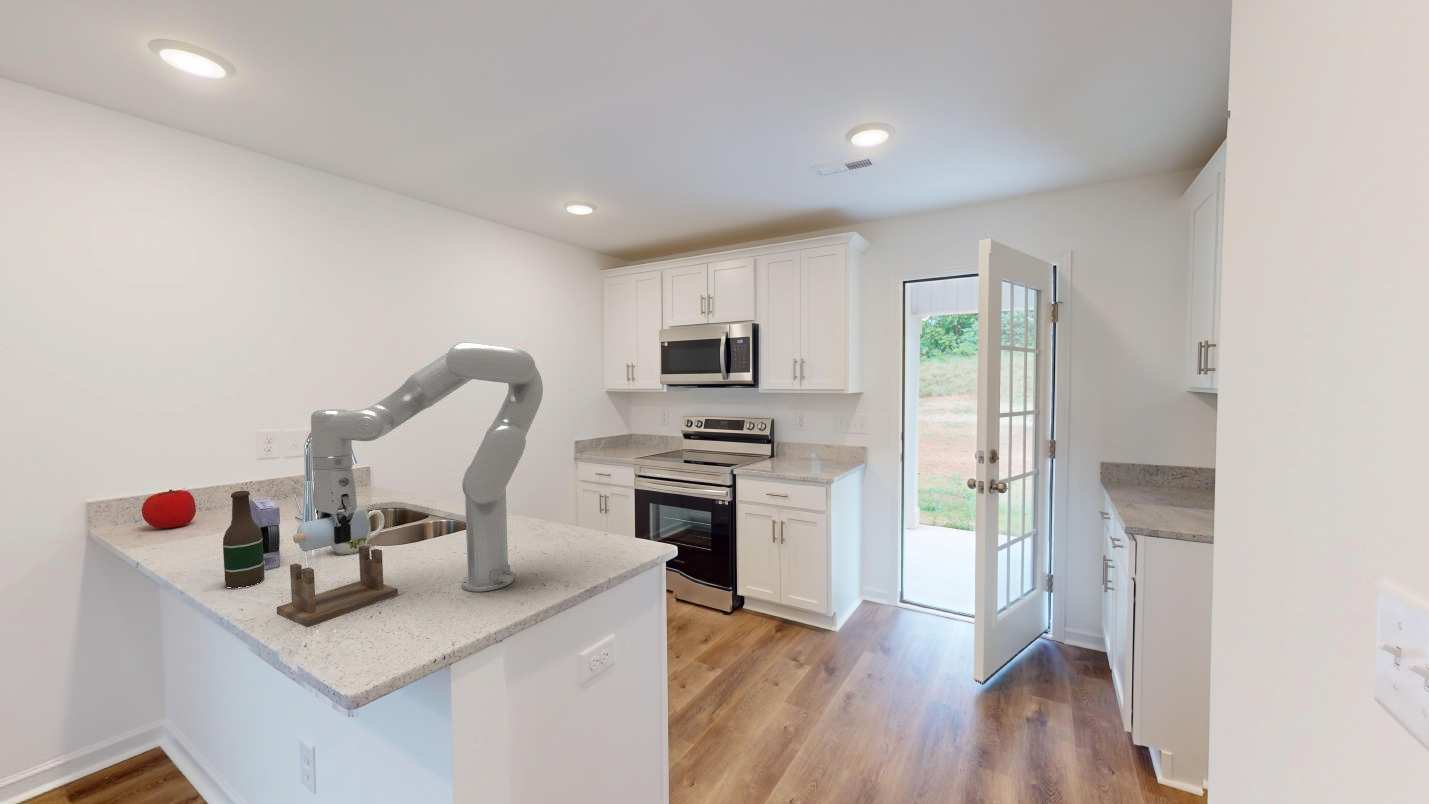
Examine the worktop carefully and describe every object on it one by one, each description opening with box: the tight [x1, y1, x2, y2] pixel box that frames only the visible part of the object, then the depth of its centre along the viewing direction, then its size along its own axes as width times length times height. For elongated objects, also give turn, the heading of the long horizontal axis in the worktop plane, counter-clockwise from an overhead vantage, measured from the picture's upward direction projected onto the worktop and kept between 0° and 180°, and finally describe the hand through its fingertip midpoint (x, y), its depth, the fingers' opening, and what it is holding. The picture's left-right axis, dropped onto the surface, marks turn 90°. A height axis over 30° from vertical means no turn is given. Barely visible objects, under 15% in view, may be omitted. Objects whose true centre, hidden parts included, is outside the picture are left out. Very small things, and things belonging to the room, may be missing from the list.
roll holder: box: [276, 545, 399, 628], centre depth 126 cm, size 14×19×11 cm
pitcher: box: [330, 504, 385, 556], centre depth 165 cm, size 11×18×14 cm, turn 146°
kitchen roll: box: [292, 511, 372, 553], centre depth 125 cm, size 6×15×6 cm, turn 150°
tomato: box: [141, 488, 197, 529], centre depth 195 cm, size 16×14×14 cm
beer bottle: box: [222, 490, 265, 588], centre depth 139 cm, size 8×8×24 cm
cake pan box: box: [249, 496, 281, 571], centre depth 155 cm, size 19×5×18 cm, turn 47°
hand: (334, 539), depth 125 cm, fingers closed on kitchen roll, 6 cm apart
